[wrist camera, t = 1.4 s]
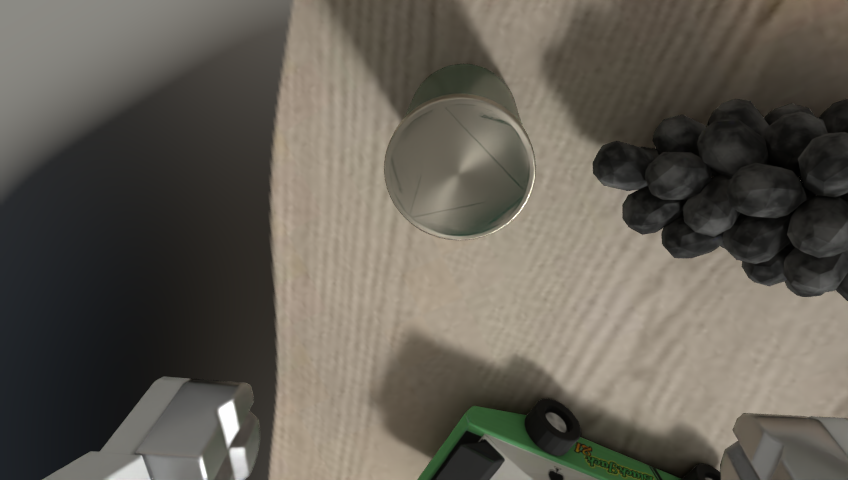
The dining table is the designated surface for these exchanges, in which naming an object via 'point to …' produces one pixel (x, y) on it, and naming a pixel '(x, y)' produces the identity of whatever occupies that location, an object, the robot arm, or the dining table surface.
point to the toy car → (536, 450)
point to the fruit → (745, 191)
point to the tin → (460, 156)
